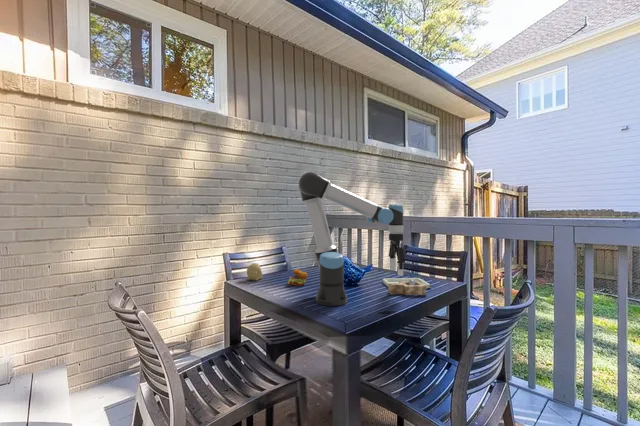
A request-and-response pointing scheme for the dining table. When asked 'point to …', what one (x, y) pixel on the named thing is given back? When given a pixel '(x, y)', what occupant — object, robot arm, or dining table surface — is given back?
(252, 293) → the dining table surface
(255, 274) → the pale yellow lumpy ball
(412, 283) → the post
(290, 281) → the cheeseburger
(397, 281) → the tray
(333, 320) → the dining table surface
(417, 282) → the collar
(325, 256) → the robot arm
